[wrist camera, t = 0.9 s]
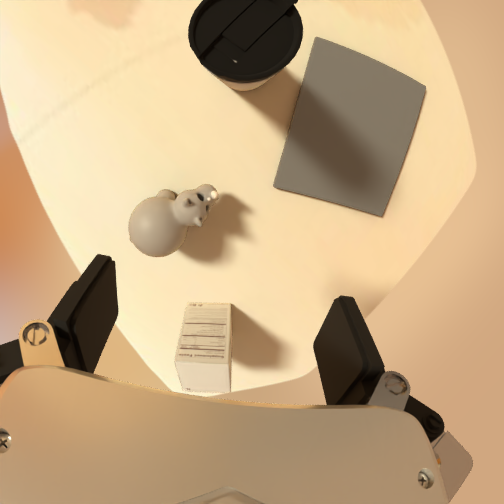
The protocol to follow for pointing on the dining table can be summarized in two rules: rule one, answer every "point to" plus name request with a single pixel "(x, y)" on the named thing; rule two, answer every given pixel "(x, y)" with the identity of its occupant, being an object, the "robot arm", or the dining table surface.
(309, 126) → the mat
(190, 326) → the supplement box
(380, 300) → the dining table surface
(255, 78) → the travel mug
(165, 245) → the chubby cartoon animal
